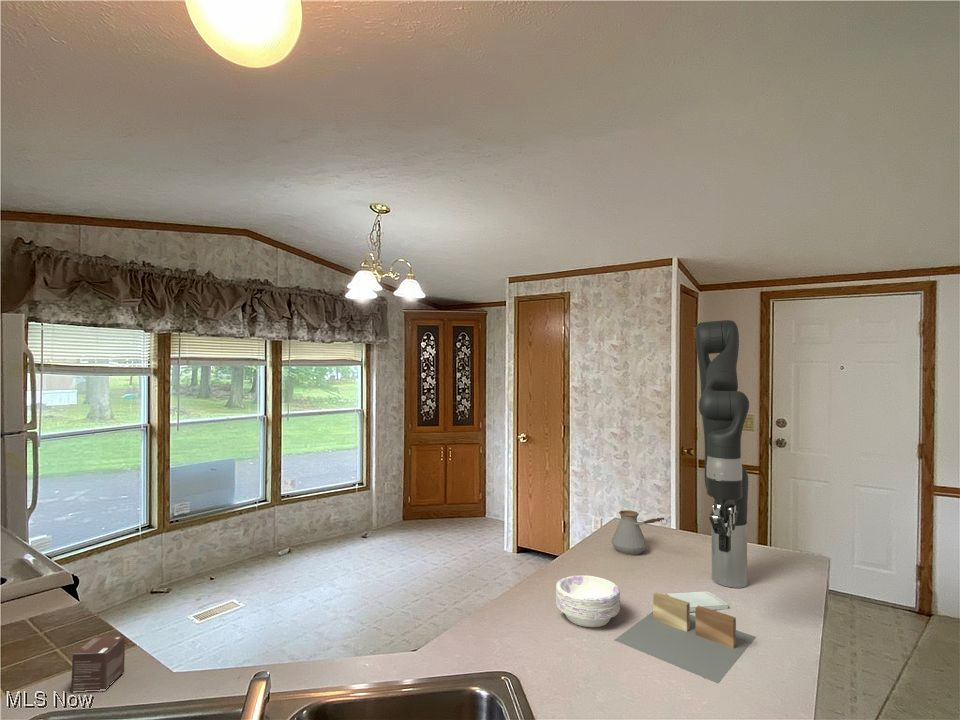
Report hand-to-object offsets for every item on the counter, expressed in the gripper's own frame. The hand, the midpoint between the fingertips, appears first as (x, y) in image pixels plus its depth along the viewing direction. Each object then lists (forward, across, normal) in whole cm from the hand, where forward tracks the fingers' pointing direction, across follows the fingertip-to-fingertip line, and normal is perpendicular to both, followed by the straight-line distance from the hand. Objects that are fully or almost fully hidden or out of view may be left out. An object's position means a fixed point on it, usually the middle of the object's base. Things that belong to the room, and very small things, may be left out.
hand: (724, 550), depth 116 cm
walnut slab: (+18, +6, 0) cm, 19 cm away
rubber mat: (+18, +10, -5) cm, 22 cm away
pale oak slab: (+18, +6, -10) cm, 22 cm away
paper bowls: (+19, +18, -26) cm, 36 cm away
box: (+19, +106, -78) cm, 133 cm away
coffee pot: (+19, -32, -37) cm, 52 cm away
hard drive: (+18, -8, -10) cm, 23 cm away
